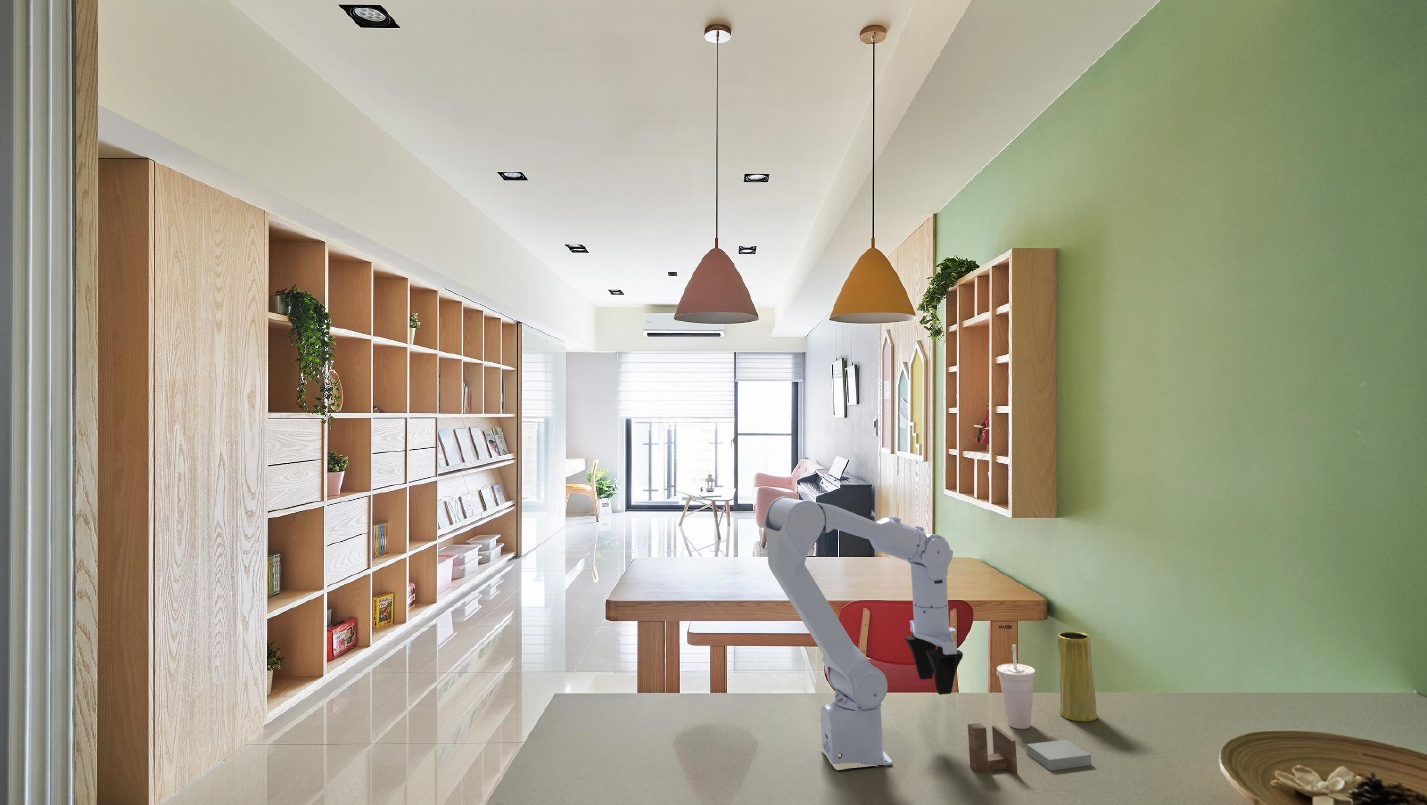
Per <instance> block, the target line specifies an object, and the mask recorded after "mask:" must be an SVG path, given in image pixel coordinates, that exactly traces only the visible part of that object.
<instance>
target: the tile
mask: <svg viewBox="0 0 1427 805" xmlns="http://www.w3.org/2000/svg"><path fill="white" fill-rule="evenodd" d="M1026 754H1027V755H1028V756H1029V757H1031V758H1032V759H1033V760H1034V761H1036V762H1037V763H1039V765H1041V766H1043V767H1044V768H1046V769H1047V770H1048V771H1057V770H1063V769H1071V768H1080V767H1085V766H1086V767H1087V766H1092V756H1091V753H1089V752H1087V751H1085V750H1084V749H1082V748H1081V747H1079V746H1078V745H1076V744H1074V743H1073V742H1071V741H1070V740H1068V739H1060V740H1059V739H1058V740H1051V741H1042V742H1036V743H1033V742H1032V743H1026Z"/></svg>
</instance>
